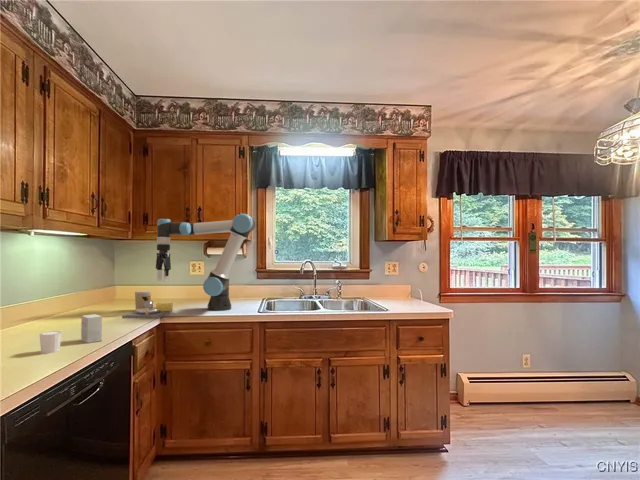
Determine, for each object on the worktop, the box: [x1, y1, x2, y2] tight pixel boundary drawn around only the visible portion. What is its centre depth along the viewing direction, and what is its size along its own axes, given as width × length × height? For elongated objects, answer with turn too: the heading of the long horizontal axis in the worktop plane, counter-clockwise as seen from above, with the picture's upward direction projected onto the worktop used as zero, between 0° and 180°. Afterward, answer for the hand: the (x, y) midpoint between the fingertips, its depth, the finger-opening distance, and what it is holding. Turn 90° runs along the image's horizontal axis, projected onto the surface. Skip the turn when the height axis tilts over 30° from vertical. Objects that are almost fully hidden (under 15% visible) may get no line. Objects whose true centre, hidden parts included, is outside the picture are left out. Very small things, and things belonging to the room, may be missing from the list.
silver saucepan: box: [135, 300, 174, 314], centre depth 220 cm, size 20×13×6 cm, turn 115°
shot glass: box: [39, 330, 63, 355], centre depth 142 cm, size 7×7×7 cm
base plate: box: [122, 308, 173, 319], centre depth 219 cm, size 20×20×6 cm
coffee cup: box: [134, 290, 152, 310], centre depth 235 cm, size 9×9×12 cm
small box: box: [80, 313, 103, 344], centre depth 159 cm, size 8×6×10 cm
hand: (162, 280), depth 229 cm, fingers open, 8 cm apart
